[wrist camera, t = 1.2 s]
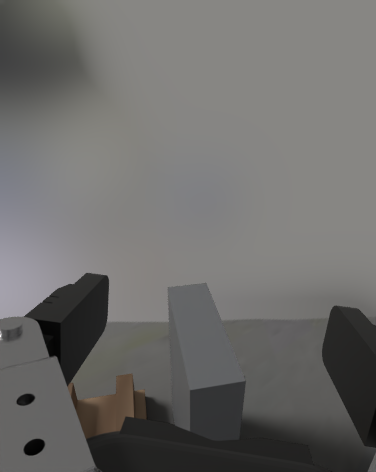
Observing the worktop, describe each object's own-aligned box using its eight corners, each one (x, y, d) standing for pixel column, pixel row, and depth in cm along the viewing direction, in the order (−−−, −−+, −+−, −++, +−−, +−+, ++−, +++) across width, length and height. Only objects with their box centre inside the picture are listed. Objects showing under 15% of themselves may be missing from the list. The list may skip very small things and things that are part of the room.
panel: (203, 409, 32) (206, 283, 25) (230, 520, 24) (245, 380, 17) (172, 414, 31) (167, 287, 25) (190, 530, 24) (189, 390, 17)
